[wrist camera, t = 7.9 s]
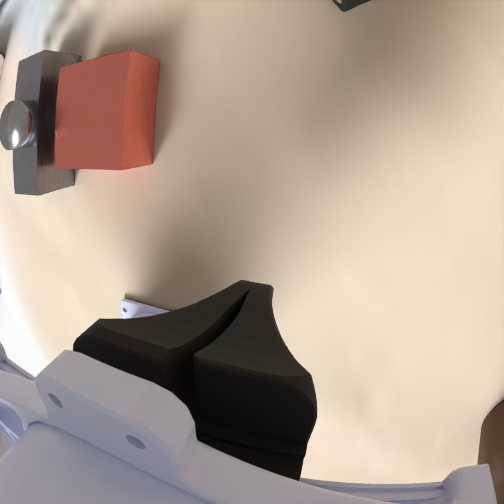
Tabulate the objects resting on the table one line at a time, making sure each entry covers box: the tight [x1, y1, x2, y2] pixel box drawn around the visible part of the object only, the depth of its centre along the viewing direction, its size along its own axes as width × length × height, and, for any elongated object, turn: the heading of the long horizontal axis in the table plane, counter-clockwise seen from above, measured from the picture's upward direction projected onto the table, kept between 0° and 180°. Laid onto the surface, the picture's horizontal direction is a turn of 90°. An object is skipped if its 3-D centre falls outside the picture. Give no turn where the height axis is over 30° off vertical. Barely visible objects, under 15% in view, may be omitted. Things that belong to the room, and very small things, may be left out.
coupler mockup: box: [0, 50, 80, 196], centre depth 19 cm, size 12×11×6 cm
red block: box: [55, 50, 160, 170], centre depth 19 cm, size 8×7×4 cm
